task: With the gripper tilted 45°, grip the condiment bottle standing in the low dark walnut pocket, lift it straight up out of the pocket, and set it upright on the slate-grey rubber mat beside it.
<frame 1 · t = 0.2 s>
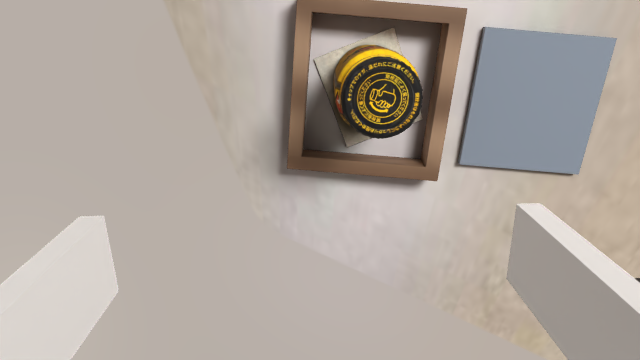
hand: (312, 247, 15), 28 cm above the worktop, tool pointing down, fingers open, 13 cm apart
condiment: (369, 89, 40), resting in pocket
pocket: (369, 89, 40), on the worktop
mat: (531, 103, 40), on the worktop
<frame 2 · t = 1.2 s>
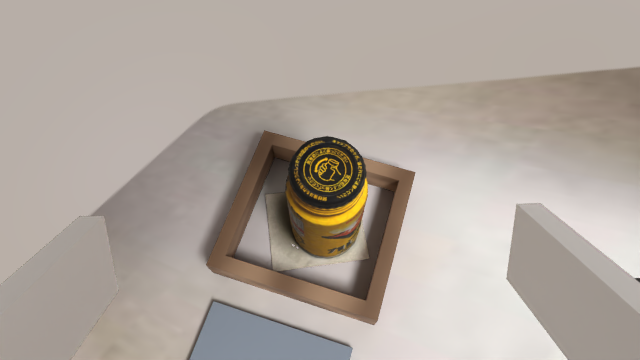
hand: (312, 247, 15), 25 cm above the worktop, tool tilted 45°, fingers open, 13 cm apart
condiment: (315, 227, 41), resting in pocket
pocket: (315, 226, 41), on the worktop
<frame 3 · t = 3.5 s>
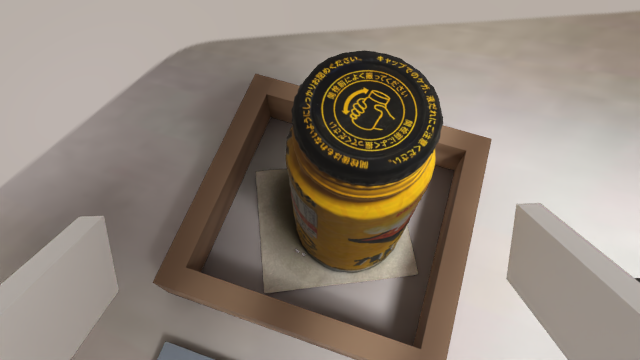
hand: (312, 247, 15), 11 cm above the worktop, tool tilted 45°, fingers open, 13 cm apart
condiment: (332, 223, 26), resting in pocket
pocket: (332, 221, 26), on the worktop
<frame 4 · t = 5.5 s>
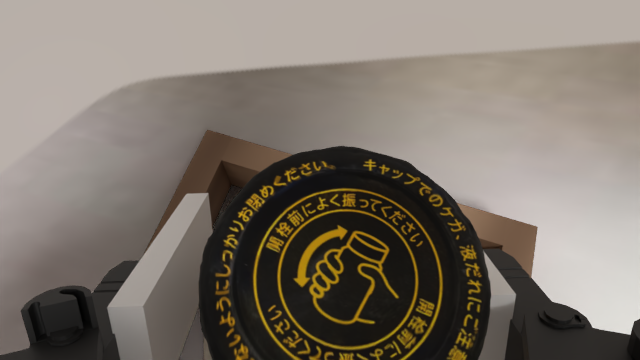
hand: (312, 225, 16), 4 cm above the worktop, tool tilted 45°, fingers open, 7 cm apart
condiment: (307, 340, 19), resting in pocket, touching gripper
pocket: (313, 341, 18), on the worktop
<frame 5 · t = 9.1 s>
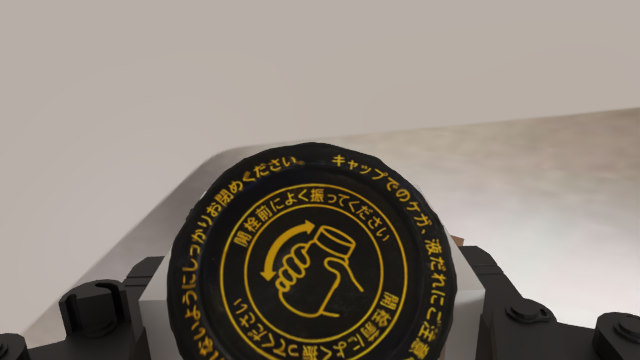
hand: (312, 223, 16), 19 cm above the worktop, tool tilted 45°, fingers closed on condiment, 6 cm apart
condiment: (295, 338, 19), point 14 cm above the worktop, touching gripper
when the fingers open (6 cm above the worktop, at t = 12.5 s): condiment drops 1 cm, resting on mat.
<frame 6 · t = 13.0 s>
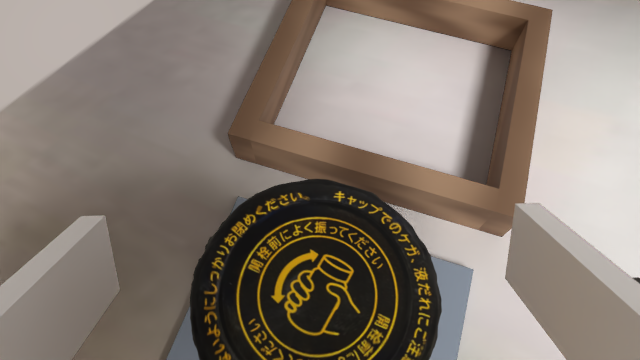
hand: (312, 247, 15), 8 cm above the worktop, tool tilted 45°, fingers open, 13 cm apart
condiment: (297, 343, 20), resting on mat
pocket: (394, 95, 26), on the worktop
mat: (316, 345, 20), on the worktop
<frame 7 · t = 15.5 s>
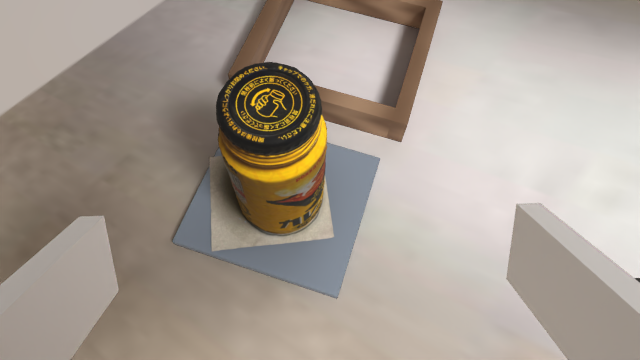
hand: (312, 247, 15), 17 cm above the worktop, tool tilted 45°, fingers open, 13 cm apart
condiment: (269, 198, 33), resting on mat
pocket: (339, 56, 39), on the worktop
mat: (281, 201, 33), on the worktop
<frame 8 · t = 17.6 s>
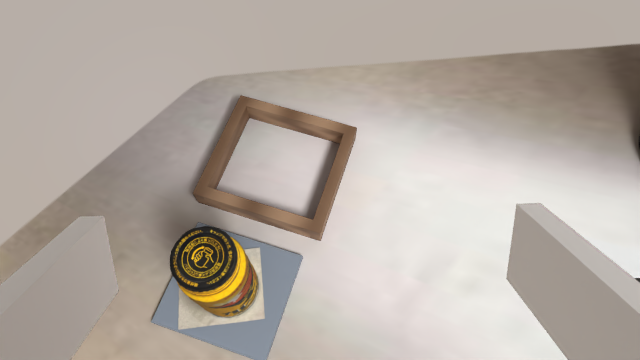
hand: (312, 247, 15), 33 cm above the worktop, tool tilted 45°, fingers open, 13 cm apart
condiment: (221, 287, 46), resting on mat
pocket: (279, 169, 52), on the worktop
mat: (230, 289, 46), on the worktop
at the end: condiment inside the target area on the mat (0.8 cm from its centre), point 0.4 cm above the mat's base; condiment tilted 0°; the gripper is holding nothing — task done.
